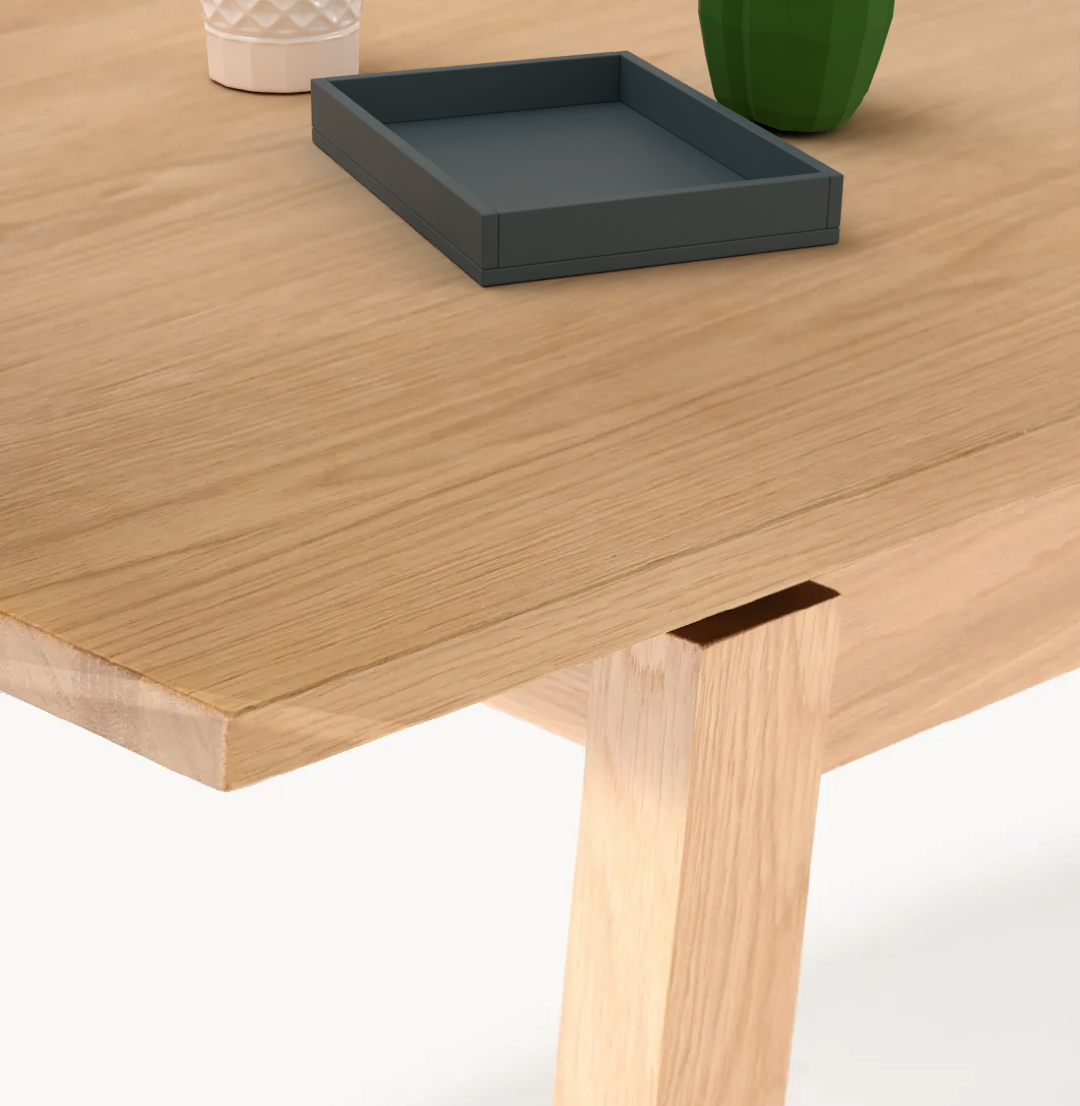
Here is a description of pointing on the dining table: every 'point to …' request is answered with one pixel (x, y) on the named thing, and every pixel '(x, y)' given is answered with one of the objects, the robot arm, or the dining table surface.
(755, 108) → the bell pepper
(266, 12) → the white cup
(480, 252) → the tray
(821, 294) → the dining table surface
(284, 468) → the dining table surface
